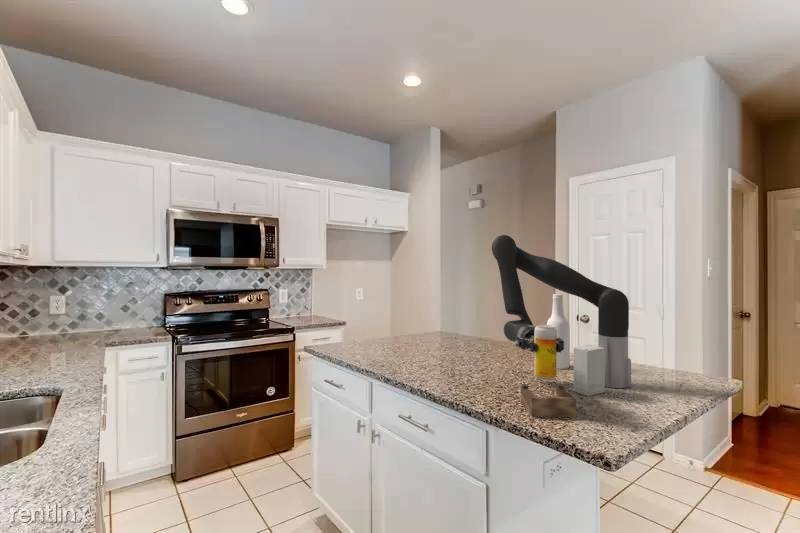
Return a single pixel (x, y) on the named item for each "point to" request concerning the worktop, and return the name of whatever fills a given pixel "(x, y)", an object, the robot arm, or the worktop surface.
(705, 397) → the worktop surface
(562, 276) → the robot arm
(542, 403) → the holder
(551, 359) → the beer can
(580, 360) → the skincare box
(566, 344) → the alcohol
